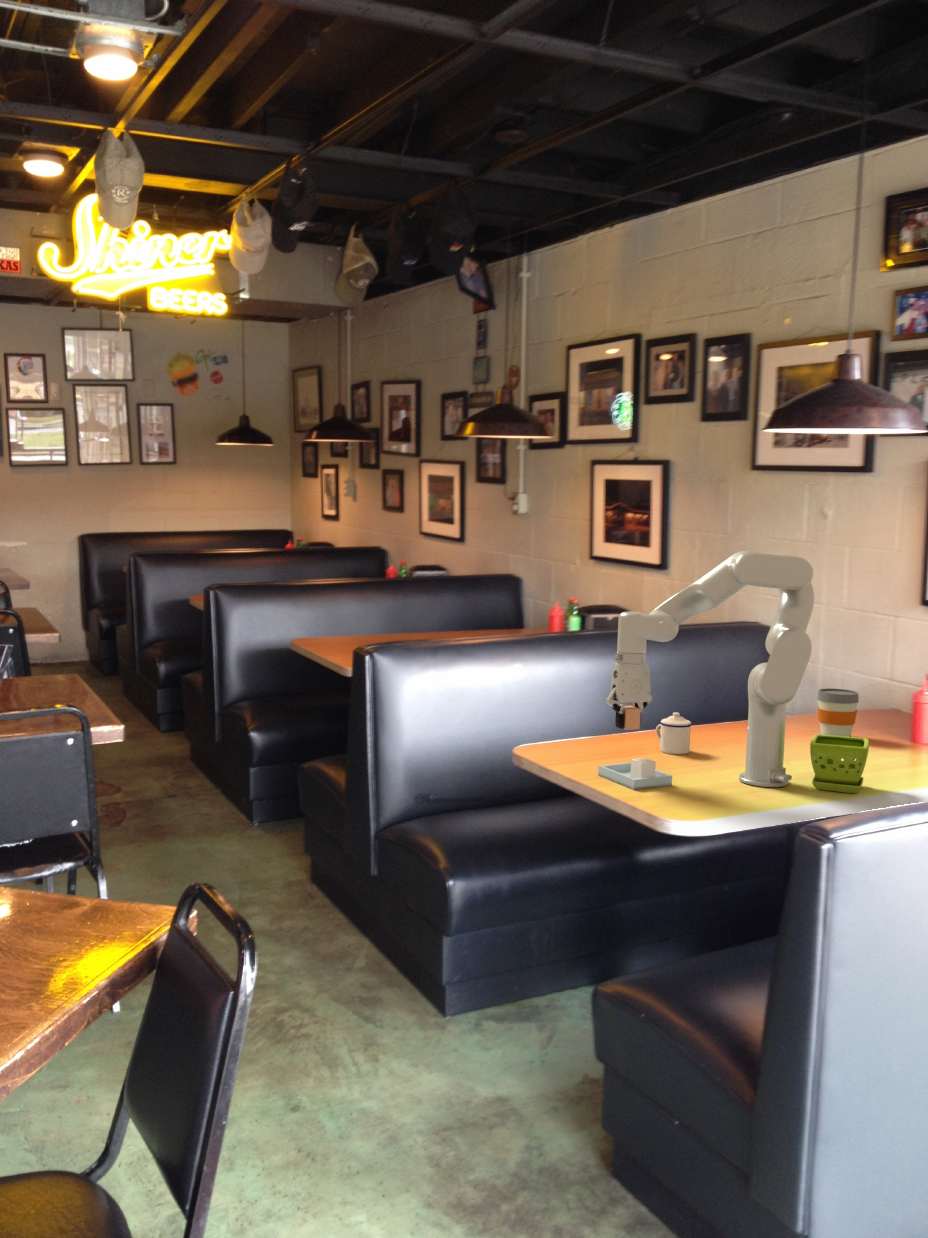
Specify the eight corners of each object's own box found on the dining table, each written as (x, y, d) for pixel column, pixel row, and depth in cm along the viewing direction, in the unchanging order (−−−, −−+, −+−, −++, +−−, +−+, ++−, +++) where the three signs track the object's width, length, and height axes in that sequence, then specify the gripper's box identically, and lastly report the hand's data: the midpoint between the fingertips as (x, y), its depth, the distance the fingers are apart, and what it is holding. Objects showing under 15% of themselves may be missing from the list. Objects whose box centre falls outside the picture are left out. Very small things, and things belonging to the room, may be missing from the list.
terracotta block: (639, 729, 268) (640, 708, 268) (625, 730, 266) (626, 709, 266) (629, 725, 272) (630, 705, 272) (615, 726, 270) (616, 706, 270)
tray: (671, 785, 263) (672, 775, 263) (633, 790, 258) (634, 780, 258) (634, 771, 277) (635, 761, 277) (598, 775, 272) (598, 765, 272)
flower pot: (867, 785, 268) (870, 737, 267) (864, 798, 256) (868, 748, 254) (811, 778, 274) (813, 732, 273) (806, 791, 261) (809, 742, 260)
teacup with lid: (696, 752, 302) (698, 714, 301) (675, 756, 296) (677, 717, 295) (666, 745, 311) (667, 707, 310) (645, 748, 306) (647, 710, 305)
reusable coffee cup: (806, 734, 331) (809, 689, 330) (835, 732, 337) (838, 687, 335) (835, 743, 320) (838, 695, 319) (865, 740, 325) (867, 693, 324)
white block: (654, 782, 263) (655, 761, 263) (640, 784, 261) (641, 763, 261) (644, 778, 267) (645, 757, 267) (630, 780, 265) (631, 759, 265)
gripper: (612, 662, 260) (609, 732, 262) (665, 659, 268) (662, 728, 270) (596, 658, 267) (593, 726, 269) (648, 655, 275) (645, 722, 276)
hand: (628, 726), depth 269 cm, fingers closed on terracotta block, 4 cm apart
